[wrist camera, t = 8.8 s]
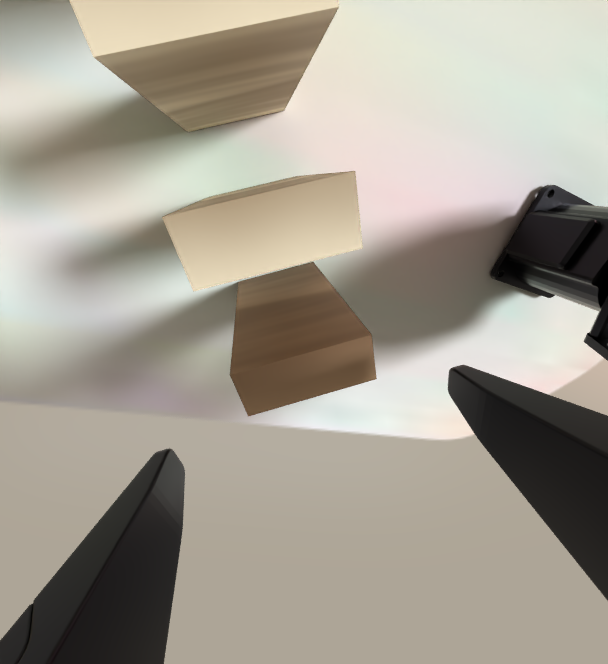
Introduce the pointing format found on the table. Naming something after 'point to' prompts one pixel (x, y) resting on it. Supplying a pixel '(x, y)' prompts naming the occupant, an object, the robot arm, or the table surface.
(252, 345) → the tile
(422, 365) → the table surface
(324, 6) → the tile
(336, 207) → the light brown wooden block
